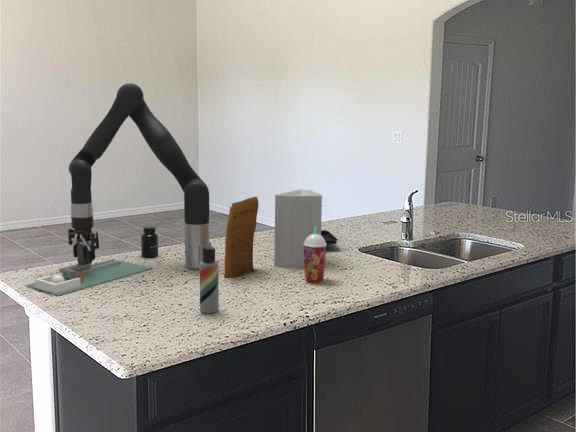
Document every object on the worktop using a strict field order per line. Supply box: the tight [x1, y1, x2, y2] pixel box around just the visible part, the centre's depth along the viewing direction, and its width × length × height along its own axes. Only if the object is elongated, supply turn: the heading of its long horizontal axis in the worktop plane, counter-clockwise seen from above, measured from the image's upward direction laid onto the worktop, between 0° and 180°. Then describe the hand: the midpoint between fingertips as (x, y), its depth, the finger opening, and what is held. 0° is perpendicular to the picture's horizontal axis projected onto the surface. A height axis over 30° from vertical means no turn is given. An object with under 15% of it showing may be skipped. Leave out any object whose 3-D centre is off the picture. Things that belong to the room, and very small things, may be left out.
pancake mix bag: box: [223, 196, 259, 278], centre depth 229 cm, size 7×19×28 cm, turn 144°
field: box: [25, 260, 153, 297], centre depth 223 cm, size 18×41×1 cm, turn 146°
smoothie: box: [303, 226, 327, 284], centre depth 221 cm, size 8×8×20 cm
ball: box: [51, 275, 65, 284], centre depth 209 cm, size 4×4×4 cm
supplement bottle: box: [140, 225, 159, 259], centre depth 253 cm, size 7×7×12 cm
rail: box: [49, 258, 122, 280], centre depth 228 cm, size 4×28×2 cm, turn 146°
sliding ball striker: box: [59, 243, 93, 282], centre depth 221 cm, size 12×12×10 cm
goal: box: [35, 272, 81, 294], centre depth 209 cm, size 10×10×3 cm
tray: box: [321, 229, 339, 247], centre depth 276 cm, size 30×23×5 cm
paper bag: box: [273, 189, 323, 269], centre depth 243 cm, size 19×15×28 cm
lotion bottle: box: [199, 246, 220, 314], centre depth 189 cm, size 6×6×20 cm
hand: (84, 258), depth 227 cm, fingers open, 8 cm apart
